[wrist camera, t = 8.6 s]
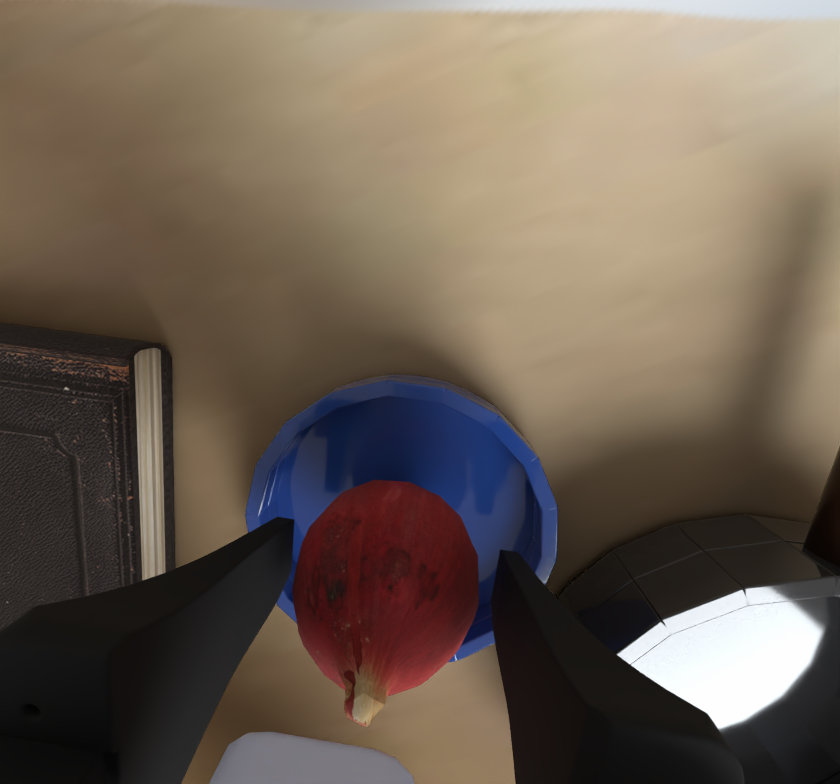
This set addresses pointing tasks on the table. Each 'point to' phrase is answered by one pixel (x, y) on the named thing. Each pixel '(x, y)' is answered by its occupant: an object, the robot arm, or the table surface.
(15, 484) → the hardcover book
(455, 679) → the table surface
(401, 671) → the onion
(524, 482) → the saucer
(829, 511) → the pan handle
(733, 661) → the frying pan
